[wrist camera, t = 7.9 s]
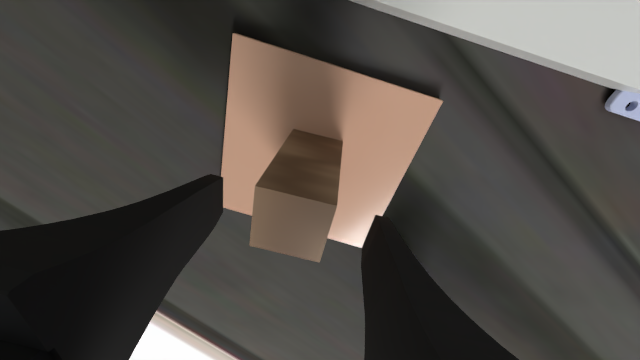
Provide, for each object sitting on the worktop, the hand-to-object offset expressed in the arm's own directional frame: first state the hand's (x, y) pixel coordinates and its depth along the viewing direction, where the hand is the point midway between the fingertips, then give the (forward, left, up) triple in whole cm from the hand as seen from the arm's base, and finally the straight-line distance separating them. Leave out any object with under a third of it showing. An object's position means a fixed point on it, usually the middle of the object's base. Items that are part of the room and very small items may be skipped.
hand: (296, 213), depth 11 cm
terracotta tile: (0, 0, -6) cm, 6 cm away
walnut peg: (0, 0, -6) cm, 6 cm away
